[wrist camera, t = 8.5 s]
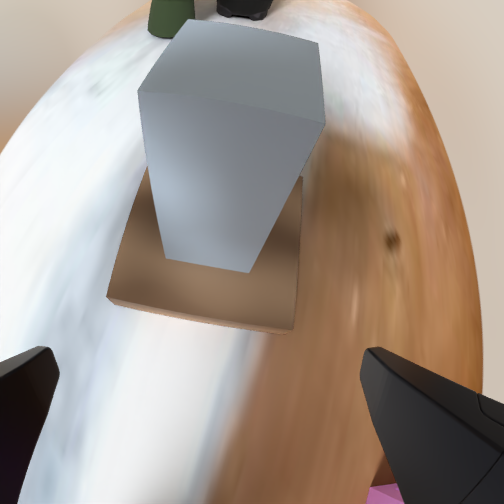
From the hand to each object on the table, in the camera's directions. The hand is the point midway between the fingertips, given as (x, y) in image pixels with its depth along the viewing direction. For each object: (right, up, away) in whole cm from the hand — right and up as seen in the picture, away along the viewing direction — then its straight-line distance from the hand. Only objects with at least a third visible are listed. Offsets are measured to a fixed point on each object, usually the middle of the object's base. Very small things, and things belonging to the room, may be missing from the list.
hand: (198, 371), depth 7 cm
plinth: (-1, +4, +13) cm, 14 cm away
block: (-1, +5, +11) cm, 12 cm away
